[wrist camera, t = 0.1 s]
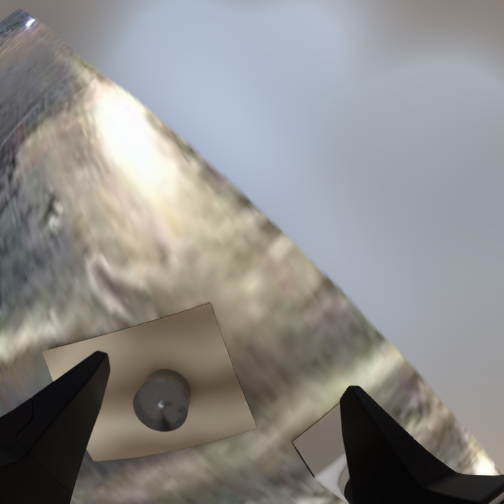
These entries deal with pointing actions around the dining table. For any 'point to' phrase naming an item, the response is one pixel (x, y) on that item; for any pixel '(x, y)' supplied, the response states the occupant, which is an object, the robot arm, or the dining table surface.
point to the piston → (163, 400)
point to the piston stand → (154, 358)
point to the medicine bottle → (326, 454)
